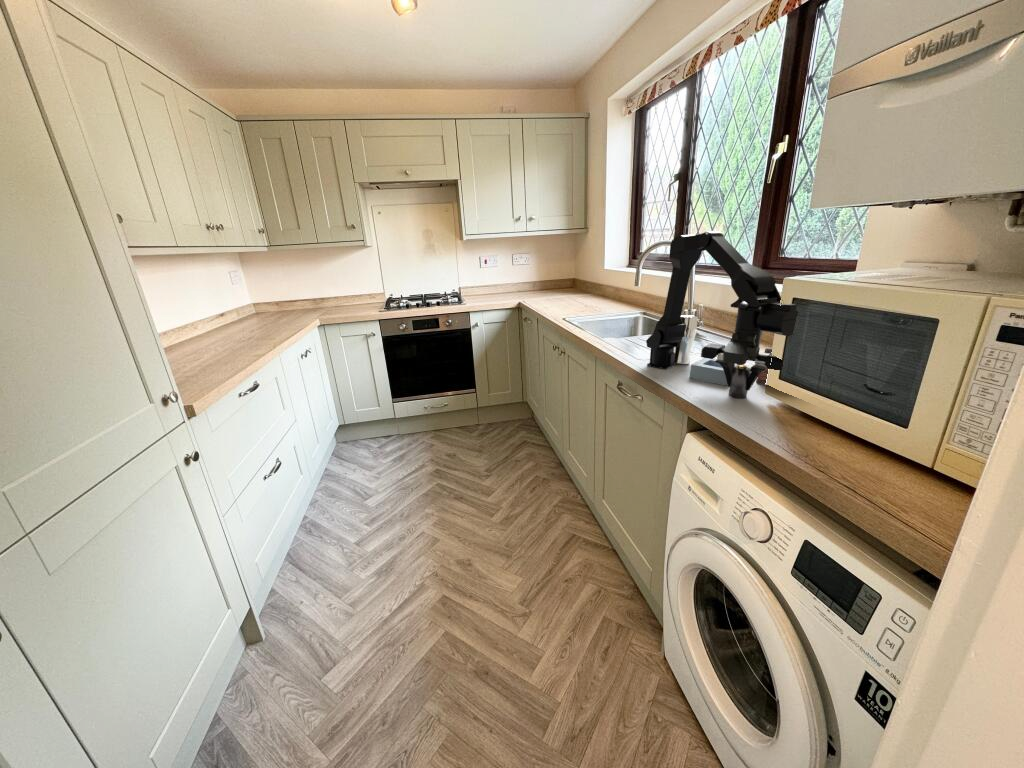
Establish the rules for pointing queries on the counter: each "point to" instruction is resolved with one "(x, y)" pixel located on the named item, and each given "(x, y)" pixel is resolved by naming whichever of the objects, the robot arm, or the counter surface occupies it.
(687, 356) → the shiny silver cylinder
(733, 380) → the cell
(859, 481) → the counter surface
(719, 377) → the box
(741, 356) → the robot arm
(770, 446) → the counter surface
